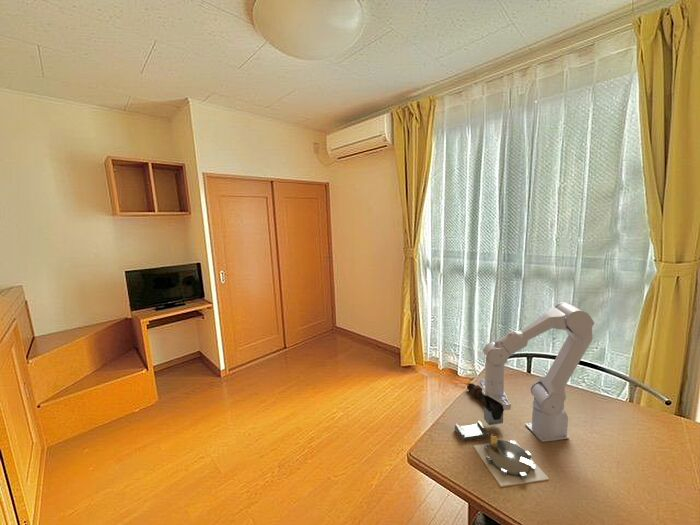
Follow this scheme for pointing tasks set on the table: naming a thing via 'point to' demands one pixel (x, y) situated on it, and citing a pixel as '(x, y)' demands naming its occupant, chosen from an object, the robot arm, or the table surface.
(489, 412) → the banded grey block
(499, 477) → the board
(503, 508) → the table surface
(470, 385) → the dark brown lumpy bar
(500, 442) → the sprocket
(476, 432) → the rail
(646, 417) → the table surface
